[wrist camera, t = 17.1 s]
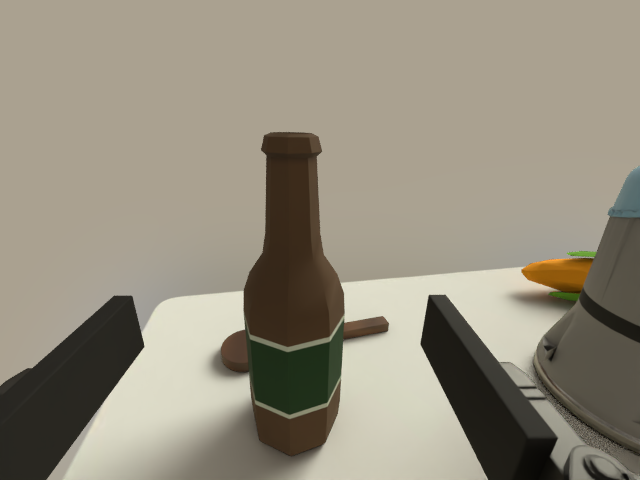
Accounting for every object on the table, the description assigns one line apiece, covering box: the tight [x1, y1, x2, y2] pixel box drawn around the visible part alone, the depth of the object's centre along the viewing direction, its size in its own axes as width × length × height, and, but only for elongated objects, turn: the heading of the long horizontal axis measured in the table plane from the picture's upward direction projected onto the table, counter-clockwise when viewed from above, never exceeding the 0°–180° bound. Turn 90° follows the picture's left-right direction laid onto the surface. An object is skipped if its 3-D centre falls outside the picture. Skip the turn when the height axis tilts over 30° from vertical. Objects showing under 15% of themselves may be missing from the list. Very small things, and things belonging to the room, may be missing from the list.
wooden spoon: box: [221, 316, 389, 372], centre depth 36 cm, size 20×6×1 cm, turn 107°
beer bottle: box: [244, 132, 345, 456], centre depth 23 cm, size 8×8×24 cm
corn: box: [522, 251, 596, 301], centre depth 46 cm, size 7×8×20 cm
